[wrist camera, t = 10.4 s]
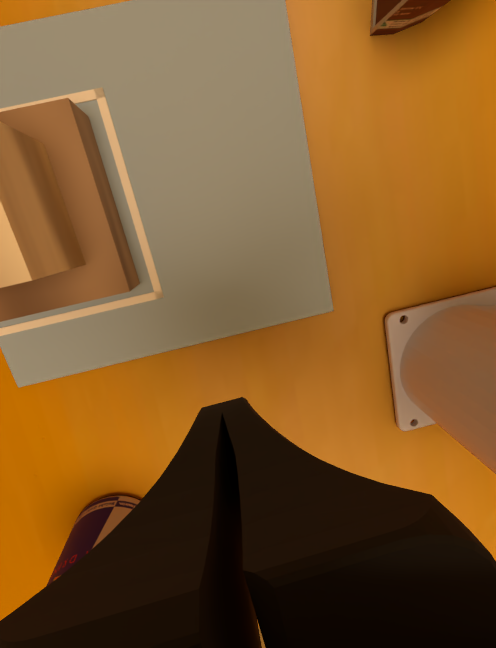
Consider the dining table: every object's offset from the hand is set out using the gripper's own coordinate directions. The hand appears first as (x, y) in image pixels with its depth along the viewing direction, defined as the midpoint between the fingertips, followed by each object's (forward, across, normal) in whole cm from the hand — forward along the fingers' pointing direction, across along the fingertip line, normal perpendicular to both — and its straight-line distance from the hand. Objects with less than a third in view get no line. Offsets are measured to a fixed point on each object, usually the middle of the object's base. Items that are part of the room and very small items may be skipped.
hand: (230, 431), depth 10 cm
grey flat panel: (+10, +2, -8) cm, 13 cm away
